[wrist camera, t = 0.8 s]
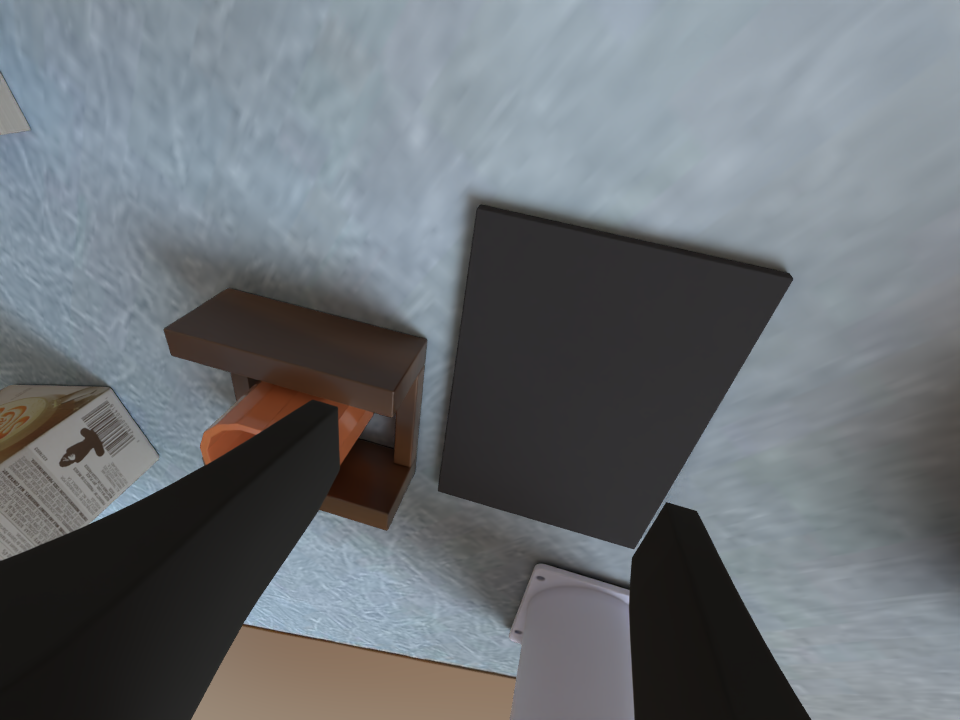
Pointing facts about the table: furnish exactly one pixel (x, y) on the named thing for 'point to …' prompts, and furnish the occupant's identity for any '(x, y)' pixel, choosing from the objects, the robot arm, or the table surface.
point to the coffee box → (63, 460)
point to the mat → (591, 369)
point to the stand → (320, 382)
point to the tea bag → (10, 112)
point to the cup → (274, 419)
